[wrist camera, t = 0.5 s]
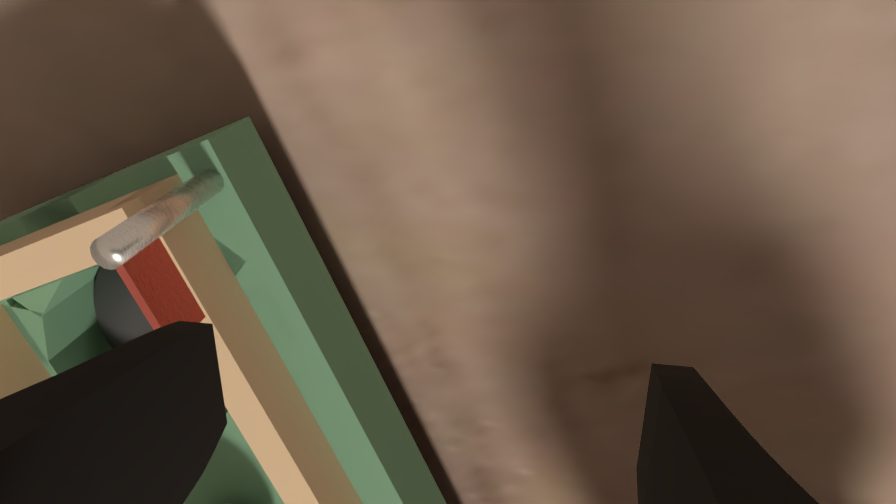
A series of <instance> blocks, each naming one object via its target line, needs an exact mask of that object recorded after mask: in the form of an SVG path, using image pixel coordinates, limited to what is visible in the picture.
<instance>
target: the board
mask: <svg viewBox="0 0 896 504" xmlns="http://www.w3.org/2000/svg"><path fill="white" fill-rule="evenodd" d="M204 169H213V170H215V171H217V172H218V173H219V174H220V175H221V176H222V178H223V180H224V188H223V190H222V191H221V192H220V193H219V194H218V195H216V196H215V197H214V198H212V199H211V200H210V201H208V202H207V203H205V204H204V205H203V206H201V207H200V208H199V209H197V210H196V211H195V212H193V213H192V214H191V215H189V216H188V217H186V218H185V219H184V220H182V221H181V222H180V223H178V224H177V225H176V226H174V227H173V228H172V229H170V230H169V231H167V232H166V233H165V234H163V235H162V236H161V237H159V238H160V240H161V242H162V243H163V245H164V247H165V248H166V250H167V252H168V253H169V255H170V257H171V259H172V260H173V262H174V264H175V265H176V267H177V269H178V270H179V272H180V274H181V276H182V277H183V279H184V281H185V282H186V284H187V286H188V287H189V289H190V291H191V293H192V294H193V296H194V298H195V299H196V301H197V303H198V304H199V306H200V308H201V309H202V311H203V313H204V315H205V316H206V317H205V318H204V319H203V320H202V321H201V322H200V323H210V324H213V331H214V337H215V344H216V351H217V357H218V364H219V371H220V377H221V384H222V391H223V397H224V404H225V411H226V417H227V425H226V427H225V429H224V431H223V434H222V436H221V438H220V440H219V442H218V444H217V446H216V449H215V451H214V453H213V455H212V457H211V459H210V460H209V462H208V464H207V466H206V468H205V470H204V472H203V474H202V476H201V477H200V479H199V480H198V482H197V483H196V485H195V487H194V488H193V490H192V491H191V493H190V494H189V496H188V497H187V499H186V500H185V501H184V503H183V504H446V502H445V500H444V498H443V496H442V494H441V492H440V490H439V488H438V486H437V484H436V482H435V480H434V478H433V476H432V474H431V472H430V470H429V468H428V466H427V464H426V462H425V460H424V459H423V457H422V455H421V453H420V451H419V449H418V447H417V445H416V443H415V441H414V439H413V437H412V435H411V433H410V431H409V429H408V427H407V425H406V423H405V421H404V419H403V417H402V415H401V413H400V411H399V409H398V407H397V406H396V404H395V402H394V400H393V398H392V396H391V394H390V392H389V390H388V388H387V386H386V384H385V382H384V380H383V378H382V376H381V374H380V372H379V370H378V368H377V366H376V364H375V362H374V360H373V358H372V356H371V354H370V352H369V351H368V349H367V347H366V345H365V343H364V341H363V339H362V337H361V335H360V333H359V331H358V329H357V327H356V325H355V323H354V321H353V319H352V317H351V315H350V313H349V311H348V309H347V307H346V305H345V303H344V301H343V299H342V298H341V296H340V294H339V292H338V290H337V288H336V286H335V284H334V282H333V280H332V278H331V276H330V274H329V272H328V270H327V268H326V266H325V264H324V262H323V260H322V258H321V256H320V254H319V252H318V250H317V248H316V246H315V245H314V243H313V241H312V239H311V237H310V235H309V233H308V231H307V229H306V227H305V225H304V223H303V221H302V219H301V217H300V215H299V213H298V211H297V209H296V207H295V205H294V203H293V201H292V199H291V197H290V195H289V193H288V192H287V190H286V188H285V186H284V184H283V182H282V180H281V178H280V176H279V174H278V172H277V170H276V168H275V166H274V164H273V162H272V160H271V158H270V156H269V154H268V152H267V150H266V148H265V146H264V144H263V142H262V140H261V138H260V137H259V135H258V133H257V131H256V129H255V127H254V125H253V123H252V121H251V119H250V117H249V116H248V117H245V118H243V119H241V120H238V121H236V122H233V123H231V124H229V125H226V126H224V127H222V128H219V129H217V130H214V131H212V132H210V133H207V134H205V135H203V136H200V137H198V138H195V139H193V140H191V141H188V142H186V143H184V144H181V145H179V146H176V147H174V148H172V149H169V150H167V151H164V152H162V153H160V154H157V155H155V156H153V157H150V158H148V159H145V160H143V161H141V162H138V163H136V164H134V165H131V166H129V167H126V168H124V169H122V170H119V171H117V172H115V173H112V174H110V175H107V176H105V177H103V178H100V179H98V180H95V181H93V182H91V183H88V184H86V185H84V186H81V187H79V188H76V189H74V190H72V191H69V192H67V193H65V194H62V195H60V196H57V197H55V198H53V199H50V200H48V201H46V202H43V203H41V204H38V205H36V206H34V207H31V208H29V209H26V210H24V211H22V212H19V213H17V214H15V215H12V216H10V217H7V218H5V219H3V220H0V399H1V398H4V397H6V396H8V395H11V394H13V393H15V392H18V391H20V390H22V389H25V388H27V387H29V386H32V385H34V384H36V383H39V382H41V381H43V380H46V379H48V378H50V377H53V376H55V375H57V374H59V373H62V372H64V371H66V370H68V369H70V368H72V367H75V366H77V365H79V364H81V363H83V362H85V361H87V360H90V359H92V358H94V357H96V356H98V355H100V354H103V353H105V352H107V351H109V350H111V349H113V348H115V347H118V346H120V345H122V344H124V343H126V342H128V341H131V340H133V339H135V338H137V337H139V336H142V335H144V334H146V333H148V332H151V331H153V328H152V327H151V325H150V323H149V322H148V320H147V319H146V317H145V315H144V314H143V312H142V311H141V309H140V307H139V306H138V304H137V303H136V301H135V299H134V298H133V296H132V295H131V293H130V291H129V290H128V288H127V287H126V285H125V283H124V282H123V280H122V278H121V277H120V275H119V274H118V272H117V270H116V269H114V270H109V269H105V268H103V267H101V266H99V265H98V264H97V263H96V262H95V261H94V259H93V258H92V256H91V253H90V246H91V243H92V242H93V241H94V240H95V239H96V238H98V237H99V236H101V235H103V234H104V233H106V232H107V231H109V230H110V229H112V228H113V227H115V226H117V225H118V224H120V223H121V222H123V221H124V220H126V219H128V218H129V217H131V216H132V215H134V214H135V213H137V212H138V211H140V210H142V209H143V208H145V207H146V206H148V205H149V204H151V203H152V202H154V201H156V200H157V199H159V198H160V197H162V196H163V195H165V194H166V193H168V192H170V191H171V190H173V189H174V188H176V187H177V186H179V185H181V184H182V183H184V182H185V181H187V180H188V179H190V178H191V177H193V176H195V175H196V174H198V173H199V172H201V171H202V170H204ZM98 270H99V271H98ZM97 272H98V273H97ZM96 274H97V276H96V280H95V283H94V277H95V275H96Z"/></svg>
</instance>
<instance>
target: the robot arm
mask: <svg viewBox="0 0 896 504" xmlns="http://www.w3.org/2000/svg"><path fill="white" fill-rule="evenodd" d="M226 425H227V417H226V411H225V404H224V397H223V391H222V384H221V377H220V371H219V364H218V357H217V351H216V344H215V337H214V331H213V324H210V323H199V322H188V321H177V322H174V323H171V324H168V325H165V326H163V327H160V328H158V329H155V330H153V331H151V332H148V333H146V334H144V335H142V336H139V337H137V338H135V339H133V340H131V341H128V342H126V343H124V344H122V345H120V346H118V347H115V348H113V349H111V350H109V351H107V352H105V353H103V354H100V355H98V356H96V357H94V358H92V359H90V360H87V361H85V362H83V363H81V364H79V365H77V366H75V367H72V368H70V369H68V370H66V371H64V372H62V373H59V374H57V375H55V376H53V377H50V378H48V379H46V380H43V381H41V382H39V383H36V384H34V385H32V386H29V387H27V388H25V389H22V390H20V391H18V392H15V393H13V394H11V395H8V396H6V397H4V398H1V399H0V504H183V503H184V501H185V500H186V499H187V497H188V496H189V494H190V493H191V491H192V490H193V488H194V487H195V485H196V483H197V482H198V480H199V479H200V477H201V476H202V474H203V472H204V470H205V468H206V466H207V464H208V462H209V460H210V459H211V457H212V455H213V453H214V451H215V449H216V446H217V444H218V442H219V440H220V438H221V436H222V434H223V431H224V429H225V427H226ZM637 487H638V504H819V503H818V502H816V501H815V500H814V499H813V498H812V497H811V496H810V495H809V494H808V493H807V492H806V491H805V490H804V489H803V488H802V487H801V486H800V485H799V484H798V483H797V482H796V481H795V480H794V479H793V478H792V477H791V476H789V475H788V474H787V473H786V472H785V471H784V470H783V469H782V468H781V467H780V466H779V464H778V463H777V462H776V461H775V460H774V459H773V458H772V457H771V456H770V455H769V454H768V453H767V452H766V451H765V450H764V449H763V448H762V447H761V446H760V444H759V443H758V442H757V441H756V440H755V439H754V438H753V437H752V436H751V435H750V434H749V432H748V431H747V430H746V429H745V428H744V427H743V426H742V424H741V423H740V422H739V421H738V420H737V419H736V417H735V416H734V415H733V414H732V413H731V412H730V410H729V409H728V408H727V407H726V406H725V405H724V403H723V402H722V401H721V400H720V399H719V397H718V396H717V395H716V394H715V393H714V391H713V390H712V389H711V388H710V387H709V385H708V384H707V383H706V382H705V381H704V379H703V378H702V377H701V376H700V375H699V374H698V372H697V371H696V370H695V369H694V368H693V367H684V366H673V365H662V364H652V367H651V373H650V380H649V387H648V394H647V401H646V408H645V415H644V422H643V429H642V436H641V442H640V449H639V456H638V463H637Z"/></svg>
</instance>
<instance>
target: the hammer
mask: <svg viewBox="0 0 896 504" xmlns="http://www.w3.org/2000/svg"><path fill="white" fill-rule="evenodd" d="M223 188H224V180H223V178H222V176H221V175H220V174H219V173H218V172H217V171H215V170H213V169H204V170H202V171H201V172H199V173H198V174H196V175H195V176H193V177H191V178H190V179H188V180H187V181H185V182H184V183H182V184H181V185H179V186H177V187H176V188H174V189H173V190H171V191H170V192H168V193H166V194H165V195H163V196H162V197H160V198H159V199H157V200H156V201H154V202H152V203H151V204H149V205H148V206H146V207H145V208H143V209H142V210H140V211H138V212H137V213H135V214H134V215H132V216H131V217H129V218H128V219H126V220H124V221H123V222H121V223H120V224H118V225H117V226H115V227H113V228H112V229H110V230H109V231H107V232H106V233H104V234H103V235H101V236H99V237H98V238H96V239H95V240H94V241H93V242H92V243H91V246H90V253H91V256H92V258H93V259H94V261H95V262H96V263H97V264H98V265H99V266H101V267H103V268H105V269H109V270H114V269H116V270H117V272H118V274H119V275H120V277H121V278H122V280H123V282H124V283H125V285H126V287H127V288H128V290H129V291H130V293H131V295H132V296H133V298H134V299H135V301H136V303H137V304H138V306H139V307H140V309H141V311H142V312H143V314H144V315H145V317H146V319H147V320H148V322H149V323H150V325H151V327H152V328H153V330H155V329H158V328H160V327H163V326H165V325H168V324H171V323H174V322H177V321H188V322H199V323H200V322H201V321H202V320H203V319H204V318H205V317H206V316H205V315H204V313H203V311H202V309H201V308H200V306H199V304H198V303H197V301H196V299H195V298H194V296H193V294H192V293H191V291H190V289H189V287H188V286H187V284H186V282H185V281H184V279H183V277H182V276H181V274H180V272H179V270H178V269H177V267H176V265H175V264H174V262H173V260H172V259H171V257H170V255H169V253H168V252H167V250H166V248H165V247H164V245H163V243H162V242H161V240H160V238H159V237H161V236H162V235H163V234H165V233H166V232H167V231H169V230H170V229H172V228H173V227H174V226H176V225H177V224H178V223H180V222H181V221H182V220H184V219H185V218H186V217H188V216H189V215H191V214H192V213H193V212H195V211H196V210H197V209H199V208H200V207H201V206H203V205H204V204H205V203H207V202H208V201H210V200H211V199H212V198H214V197H215V196H216V195H218V194H219V193H220V192H221V191H222V190H223Z"/></svg>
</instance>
